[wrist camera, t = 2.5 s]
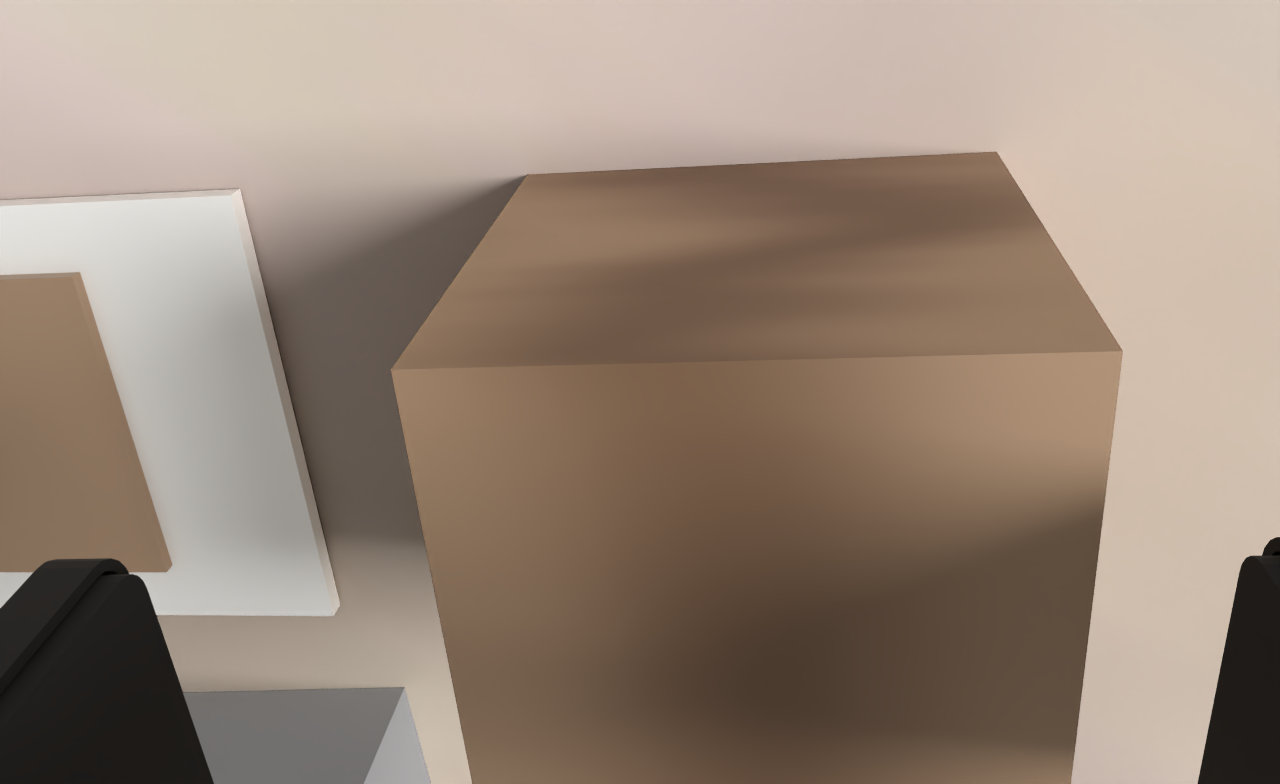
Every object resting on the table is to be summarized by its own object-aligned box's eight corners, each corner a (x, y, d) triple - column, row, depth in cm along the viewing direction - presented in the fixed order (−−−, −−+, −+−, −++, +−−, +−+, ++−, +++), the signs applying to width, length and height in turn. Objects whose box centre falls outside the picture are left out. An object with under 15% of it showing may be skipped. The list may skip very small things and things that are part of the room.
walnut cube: (996, 150, 14) (1122, 351, 9) (971, 547, 17) (1058, 883, 12) (528, 172, 15) (390, 369, 10) (575, 548, 18) (488, 863, 12)
